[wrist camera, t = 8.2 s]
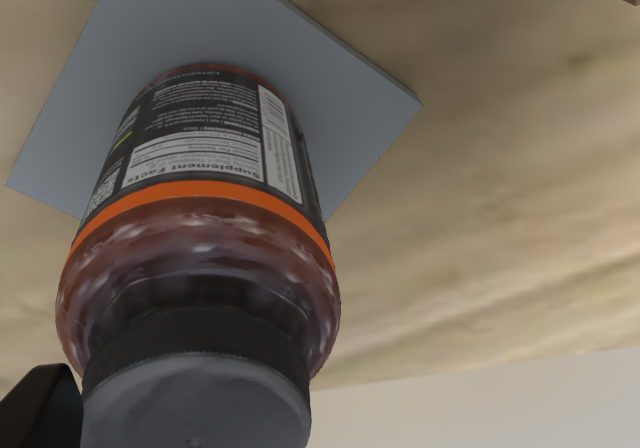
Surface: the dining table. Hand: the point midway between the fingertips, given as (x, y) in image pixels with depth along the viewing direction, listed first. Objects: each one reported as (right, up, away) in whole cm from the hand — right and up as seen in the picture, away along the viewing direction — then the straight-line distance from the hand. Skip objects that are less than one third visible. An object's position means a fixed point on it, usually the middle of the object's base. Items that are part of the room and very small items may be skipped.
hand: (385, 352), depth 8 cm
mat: (-5, +5, +11) cm, 13 cm away
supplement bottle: (-4, +5, +11) cm, 12 cm away
